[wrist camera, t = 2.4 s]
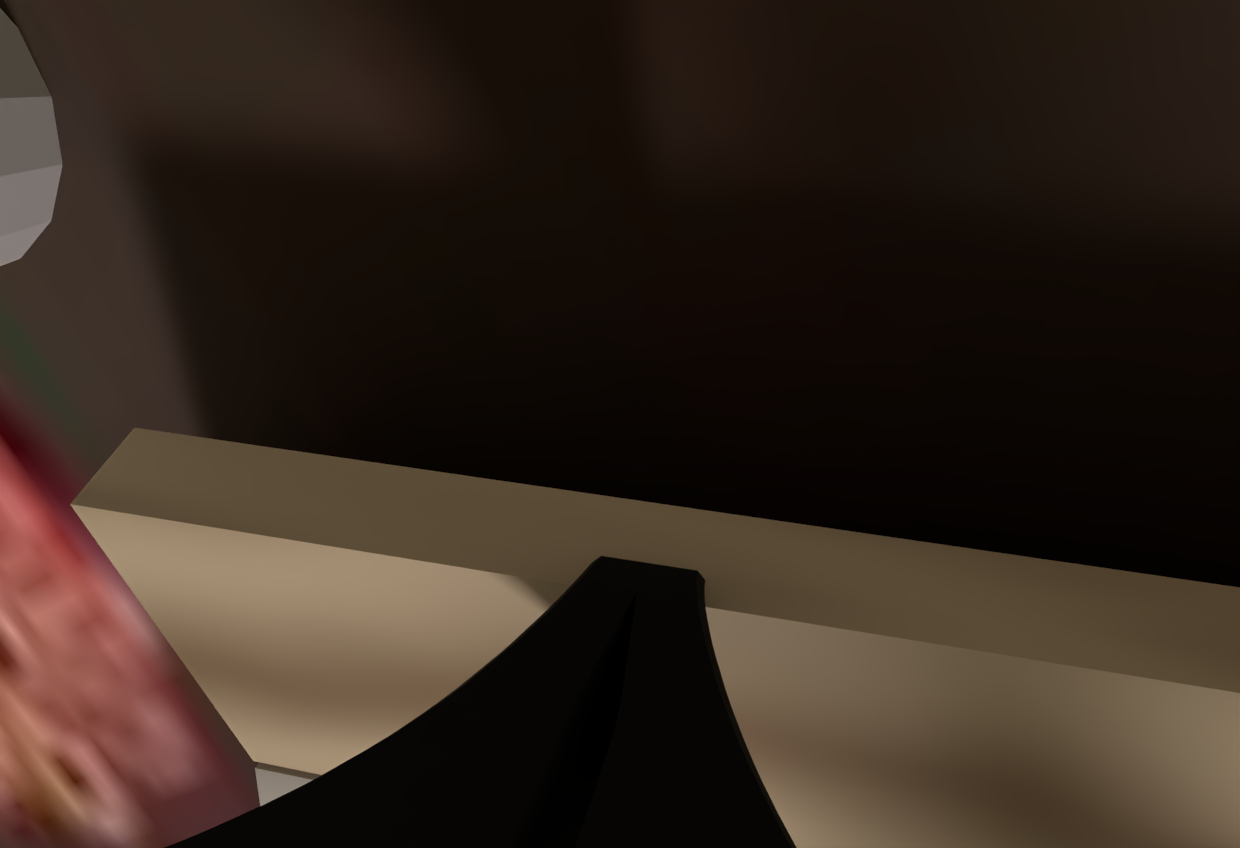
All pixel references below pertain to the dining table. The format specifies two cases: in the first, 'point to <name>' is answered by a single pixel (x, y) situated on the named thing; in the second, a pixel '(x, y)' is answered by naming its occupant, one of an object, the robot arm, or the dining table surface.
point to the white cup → (24, 147)
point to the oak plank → (740, 632)
